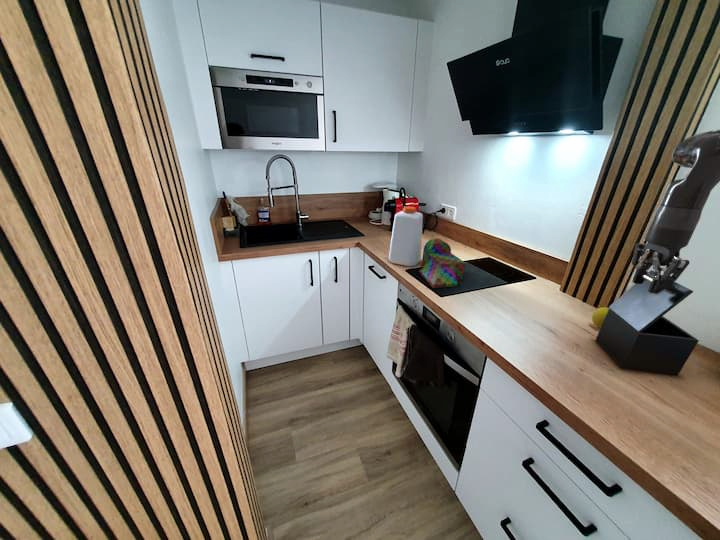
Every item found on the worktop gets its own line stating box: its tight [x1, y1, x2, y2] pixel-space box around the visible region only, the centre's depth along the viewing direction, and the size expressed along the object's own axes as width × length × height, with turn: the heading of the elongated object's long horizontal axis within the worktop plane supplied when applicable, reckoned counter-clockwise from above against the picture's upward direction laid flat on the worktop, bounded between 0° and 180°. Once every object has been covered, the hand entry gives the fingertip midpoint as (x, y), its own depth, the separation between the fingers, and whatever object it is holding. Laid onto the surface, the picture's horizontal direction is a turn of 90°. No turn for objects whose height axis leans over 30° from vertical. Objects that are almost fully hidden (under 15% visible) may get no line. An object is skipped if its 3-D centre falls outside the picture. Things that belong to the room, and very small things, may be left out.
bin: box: [594, 308, 700, 377], centre depth 81 cm, size 14×13×12 cm
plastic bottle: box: [388, 206, 424, 267], centre depth 144 cm, size 15×15×28 cm
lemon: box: [591, 306, 610, 329], centre depth 96 cm, size 6×6×8 cm
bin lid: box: [608, 269, 694, 333], centre depth 76 cm, size 14×13×5 cm
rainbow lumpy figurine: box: [418, 237, 466, 289], centre depth 132 cm, size 25×17×14 cm
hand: (644, 287), depth 75 cm, fingers closed on bin lid, 5 cm apart
